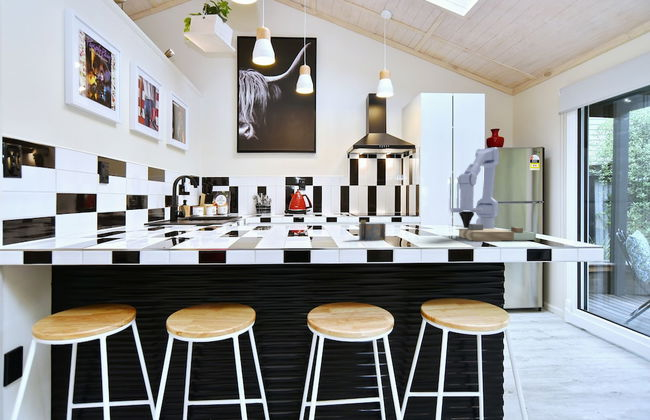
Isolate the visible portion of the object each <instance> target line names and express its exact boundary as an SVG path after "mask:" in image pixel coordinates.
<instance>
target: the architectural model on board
mask: <svg viewBox="0 0 650 420" xmlns="http://www.w3.org/2000/svg"><path fill="white" fill-rule="evenodd" d="M358 225H359V226H358V227H359V229H358V230H359V231H358V233H359V235H358V239H359V240H360V241H362V240H363V241H386V223H379V222H378V223H367V219H364V220H363V219H361V220H360V222H359V224H358ZM364 239H365V240H364ZM359 240H358V241H359Z"/></svg>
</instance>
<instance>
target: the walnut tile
mask: <svg viewBox="0 0 650 420" xmlns="http://www.w3.org/2000/svg"><path fill="white" fill-rule="evenodd" d="M510 230H511V231H512V232H514V233H523V231H524V228H523V227H520V226H519V227H518V226H511V227H510Z"/></svg>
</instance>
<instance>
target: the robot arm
mask: <svg viewBox="0 0 650 420" xmlns="http://www.w3.org/2000/svg"><path fill="white" fill-rule="evenodd" d="M499 162H500V150H499V148H498V147H496V146H495V147H487V148H477V150H476V151H475V159H474V161H473V162H472V163H470V164H469V165H468V166H467V168H466V170H465V171H464V172H463V173H461V174H460V175H459V176H458V179H457V182H458V185H459V186H458V187H459V188H458V189H459V190H460V193H459V195H460V200H459V201H460V202H459V204H460V205H459V207H456V208H455V207H454V208H453V207H450V213H459V217H460V219H461V221H462V225H463V229H468V228H469V224H471V221H472V219H473V217H474V216H475V214H476V216H477V217H478V218H477V219H476V222H475V224H483V229H495V223H496V222H495V219H496V217H497V216H498V215H499V212H500V207H499V202H498V201H497V200H496V199H494V190H495V189H494V188H495V178H496V177H495V176H496V166H499V165H500V163H499ZM481 167H483V168H484V173H483V174H484V175H483V185H482V186H483V187H482V198H480V199H478V200H477V202H476V206H475V208H474V195H475V194H474V190H475V189H474V188H475V187H474V186H475V185H476V184H477V178H478V176H479V174H480V172H481V171H482V170H481Z"/></svg>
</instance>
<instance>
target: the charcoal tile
mask: <svg viewBox="0 0 650 420" xmlns="http://www.w3.org/2000/svg"><path fill="white" fill-rule="evenodd" d="M467 229H471V230H483V224H476V223H470V224H469V228H467Z"/></svg>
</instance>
